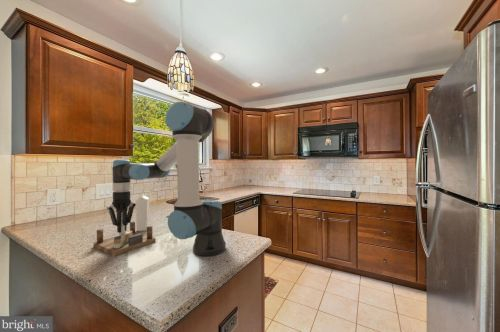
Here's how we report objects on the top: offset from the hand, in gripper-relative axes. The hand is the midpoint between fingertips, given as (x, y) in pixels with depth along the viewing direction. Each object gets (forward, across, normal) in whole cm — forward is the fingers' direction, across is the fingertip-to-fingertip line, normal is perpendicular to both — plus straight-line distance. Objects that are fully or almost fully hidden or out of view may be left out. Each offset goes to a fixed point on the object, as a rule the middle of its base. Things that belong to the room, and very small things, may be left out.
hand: (121, 238), depth 105 cm
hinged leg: (+1, +1, +4) cm, 5 cm away
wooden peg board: (+3, -2, 0) cm, 4 cm away
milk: (+4, -21, -16) cm, 26 cm away
